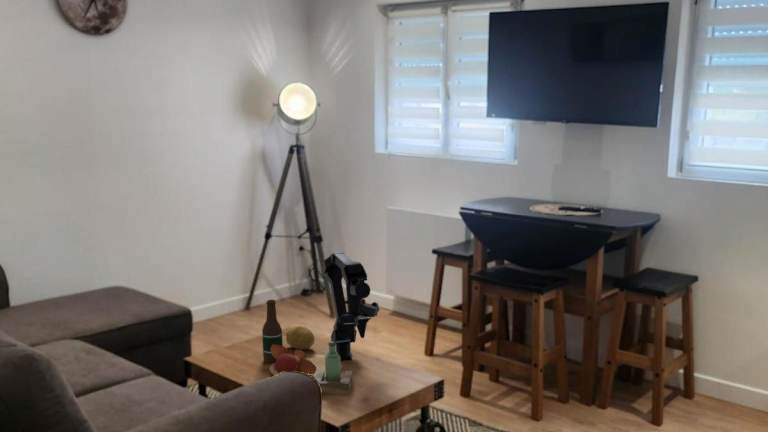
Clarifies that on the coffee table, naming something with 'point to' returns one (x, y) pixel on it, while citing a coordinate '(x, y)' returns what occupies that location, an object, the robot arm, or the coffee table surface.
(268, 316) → the beer bottle
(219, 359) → the coffee table surface
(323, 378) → the square wooden tray
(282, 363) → the brown red lumpy cluster
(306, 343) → the potato
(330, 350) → the bottle
